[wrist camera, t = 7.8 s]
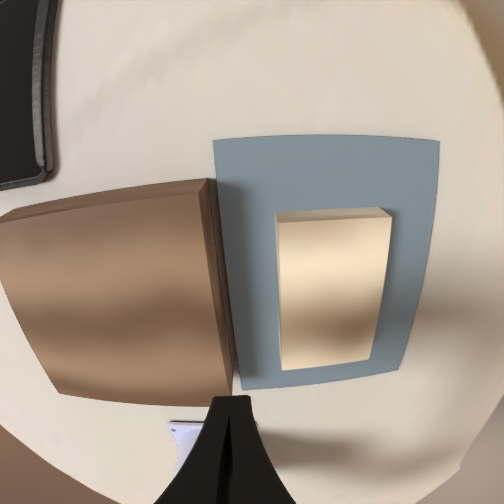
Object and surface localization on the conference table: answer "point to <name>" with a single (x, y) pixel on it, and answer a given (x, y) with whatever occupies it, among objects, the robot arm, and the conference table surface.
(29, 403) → the conference table surface
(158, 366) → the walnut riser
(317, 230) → the birch block
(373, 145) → the rubber mat
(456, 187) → the conference table surface
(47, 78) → the phone
